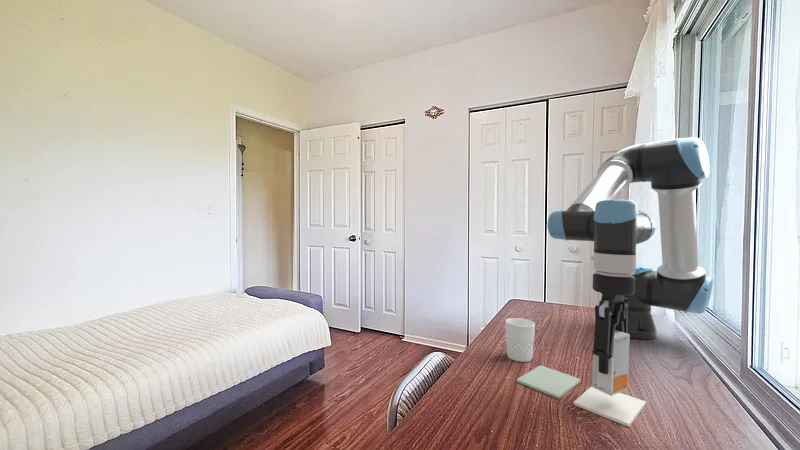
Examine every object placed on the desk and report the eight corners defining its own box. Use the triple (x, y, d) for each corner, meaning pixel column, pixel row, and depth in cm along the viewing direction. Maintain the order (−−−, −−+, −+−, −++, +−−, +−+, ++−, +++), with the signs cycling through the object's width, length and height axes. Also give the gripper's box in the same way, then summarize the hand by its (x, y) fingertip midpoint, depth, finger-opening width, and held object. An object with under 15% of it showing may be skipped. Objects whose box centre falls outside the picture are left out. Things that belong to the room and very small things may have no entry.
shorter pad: (540, 367, 89) (540, 365, 89) (580, 381, 81) (580, 379, 81) (516, 381, 81) (516, 379, 81) (559, 398, 73) (559, 396, 73)
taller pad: (594, 386, 79) (594, 383, 79) (645, 404, 72) (645, 401, 72) (573, 404, 71) (573, 401, 71) (629, 427, 64) (629, 423, 64)
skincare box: (611, 397, 68) (613, 338, 68) (591, 387, 72) (592, 331, 71) (629, 390, 71) (630, 333, 70) (608, 381, 75) (610, 327, 74)
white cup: (536, 364, 91) (537, 327, 90) (506, 361, 92) (507, 325, 92) (531, 353, 98) (532, 318, 98) (503, 350, 100) (504, 317, 100)
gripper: (608, 267, 80) (606, 363, 80) (575, 275, 67) (572, 390, 67) (647, 271, 74) (644, 374, 75) (619, 281, 61) (615, 406, 62)
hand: (610, 382), depth 71 cm, fingers closed on skincare box, 7 cm apart
